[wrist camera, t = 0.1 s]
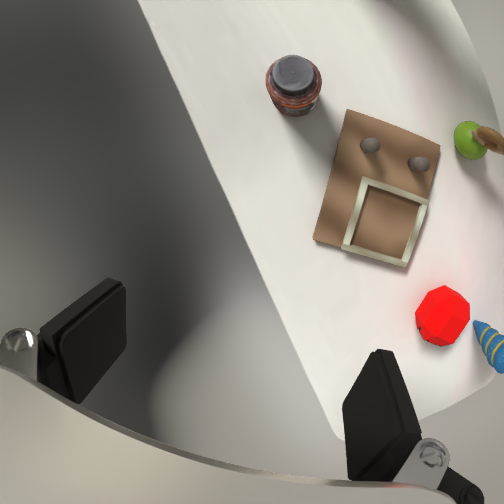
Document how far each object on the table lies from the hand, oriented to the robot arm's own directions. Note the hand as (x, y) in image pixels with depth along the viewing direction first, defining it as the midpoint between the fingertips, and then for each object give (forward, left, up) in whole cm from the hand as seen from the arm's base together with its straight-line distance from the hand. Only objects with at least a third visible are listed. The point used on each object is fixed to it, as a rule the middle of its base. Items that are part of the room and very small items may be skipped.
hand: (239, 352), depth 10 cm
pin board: (-6, +12, -31) cm, 34 cm away
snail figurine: (-17, +24, -31) cm, 43 cm away
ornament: (+9, +39, -31) cm, 51 cm away
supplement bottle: (-15, -2, -31) cm, 35 cm away
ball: (+8, +28, -31) cm, 43 cm away
